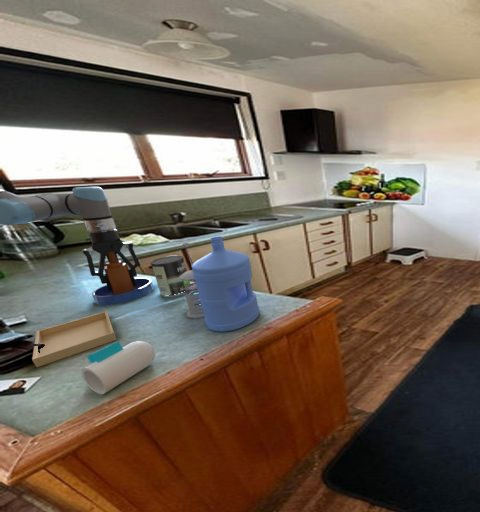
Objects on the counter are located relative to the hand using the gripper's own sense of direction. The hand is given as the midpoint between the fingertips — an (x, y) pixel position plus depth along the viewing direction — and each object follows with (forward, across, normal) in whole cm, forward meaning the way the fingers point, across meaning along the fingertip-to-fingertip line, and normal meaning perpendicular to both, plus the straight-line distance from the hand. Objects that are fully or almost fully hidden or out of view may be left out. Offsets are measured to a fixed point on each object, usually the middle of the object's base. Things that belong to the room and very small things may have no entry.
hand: (122, 287), depth 107 cm
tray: (+4, -14, -27) cm, 31 cm away
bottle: (+3, 0, 0) cm, 3 cm away
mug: (+4, -7, -57) cm, 58 cm away
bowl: (+4, 0, 0) cm, 4 cm away
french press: (+4, +17, -37) cm, 41 cm away
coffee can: (+4, +14, -12) cm, 19 cm away
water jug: (+4, +21, -52) cm, 56 cm away
